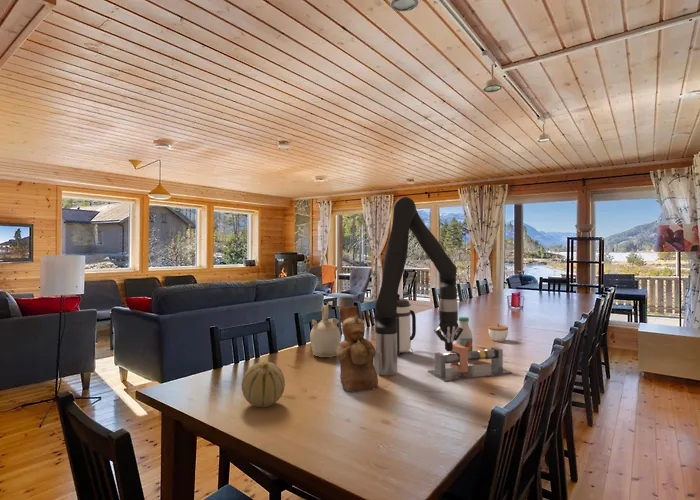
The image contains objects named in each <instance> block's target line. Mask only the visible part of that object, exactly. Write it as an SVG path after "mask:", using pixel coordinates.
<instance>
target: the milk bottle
mask: <svg viewBox="0 0 700 500" xmlns="http://www.w3.org/2000/svg"><path fill="white" fill-rule="evenodd" d="M469 321H470V319H469V317H468V316H459V317H458V322H459V323H458V326H459V327H460V328H463V331H462V333H461V334H460V336H459V337H458V339H457V340H456V341H455V344H459V345H461V346H464V347H467V348H468V351H473V333H472V330H471V328H470V325H469V323H470V322H469Z"/></svg>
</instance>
